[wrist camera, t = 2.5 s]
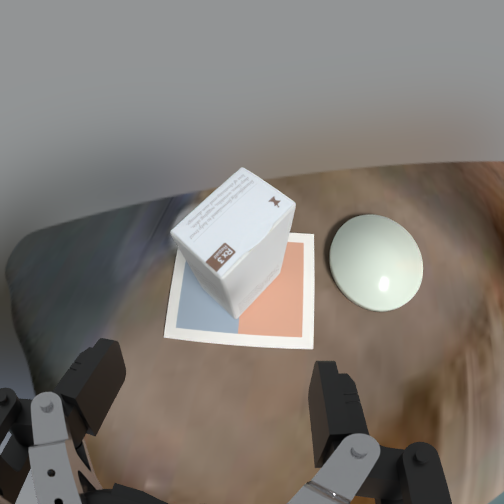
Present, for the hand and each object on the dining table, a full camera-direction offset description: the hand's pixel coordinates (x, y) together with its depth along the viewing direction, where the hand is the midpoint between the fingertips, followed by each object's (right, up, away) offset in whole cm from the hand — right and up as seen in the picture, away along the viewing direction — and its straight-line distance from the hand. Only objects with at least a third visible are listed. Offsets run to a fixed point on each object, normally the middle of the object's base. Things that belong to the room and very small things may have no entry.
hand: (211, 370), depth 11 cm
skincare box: (+1, +2, +16) cm, 16 cm away
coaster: (+14, +4, +17) cm, 22 cm away
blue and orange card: (+1, +2, +16) cm, 16 cm away
